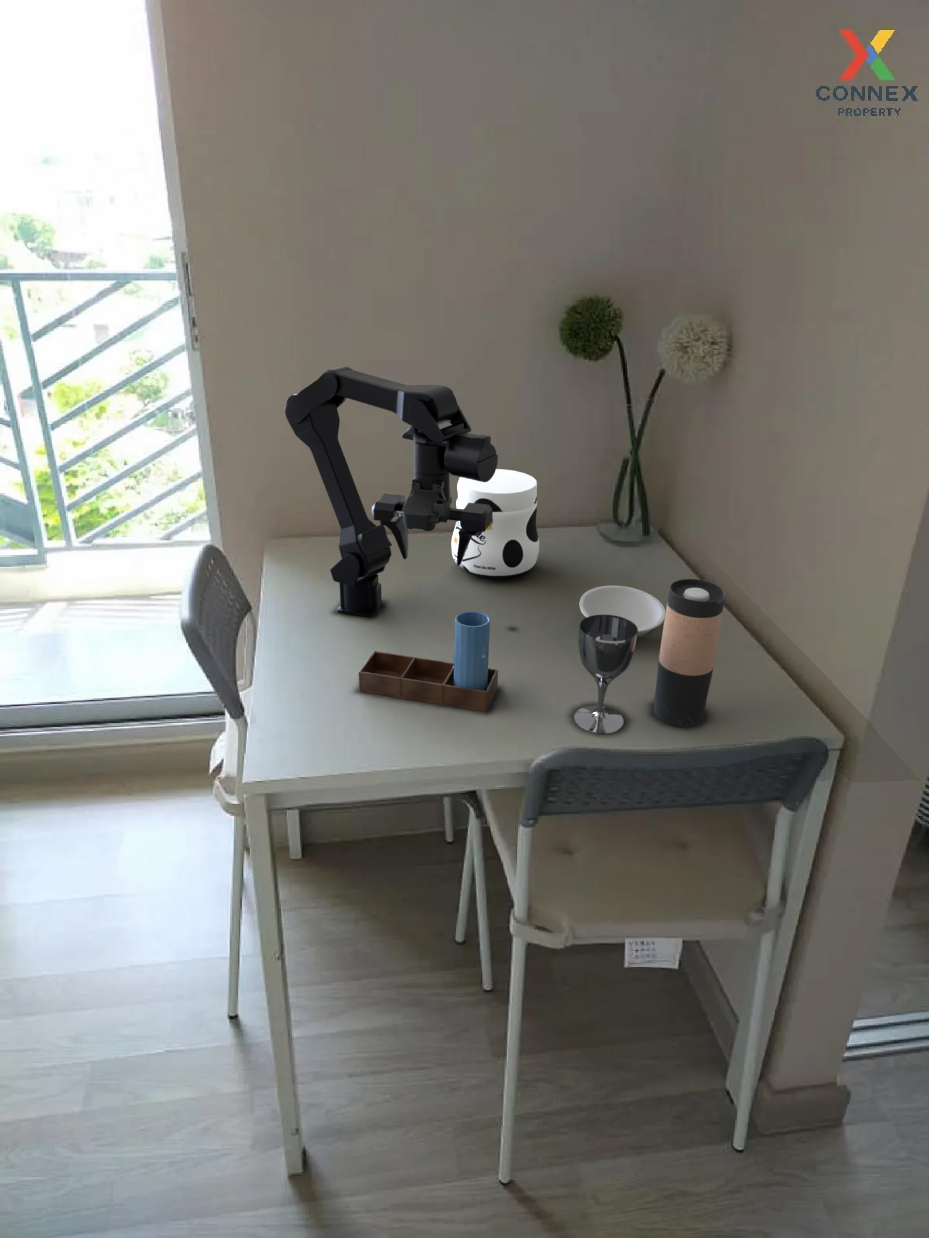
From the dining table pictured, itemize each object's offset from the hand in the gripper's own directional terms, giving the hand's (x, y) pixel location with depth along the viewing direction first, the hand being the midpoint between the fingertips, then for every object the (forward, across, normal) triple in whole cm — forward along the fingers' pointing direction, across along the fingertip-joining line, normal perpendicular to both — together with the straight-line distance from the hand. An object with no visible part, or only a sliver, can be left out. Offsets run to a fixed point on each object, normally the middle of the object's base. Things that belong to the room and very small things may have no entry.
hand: (432, 561), depth 144 cm
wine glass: (+13, +31, -19) cm, 39 cm away
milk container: (+13, +4, +30) cm, 33 cm away
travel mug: (+13, +42, -14) cm, 46 cm away
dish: (+13, +31, +9) cm, 35 cm away
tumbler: (+12, +12, -18) cm, 25 cm away
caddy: (+13, +5, -18) cm, 23 cm away
